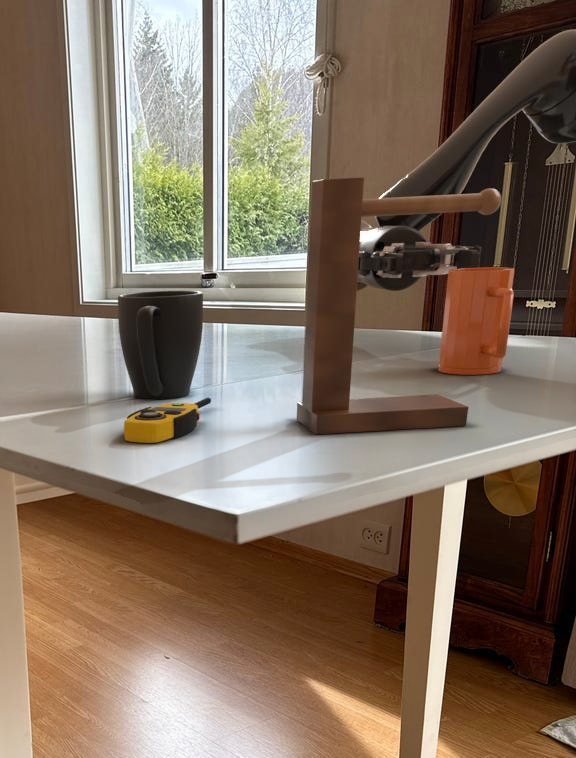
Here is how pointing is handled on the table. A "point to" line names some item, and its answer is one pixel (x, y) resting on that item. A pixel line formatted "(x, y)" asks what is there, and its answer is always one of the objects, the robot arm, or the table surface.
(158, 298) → the mug
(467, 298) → the cup
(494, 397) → the table surface
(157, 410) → the yellow walkie talkie
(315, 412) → the stand
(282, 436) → the table surface
